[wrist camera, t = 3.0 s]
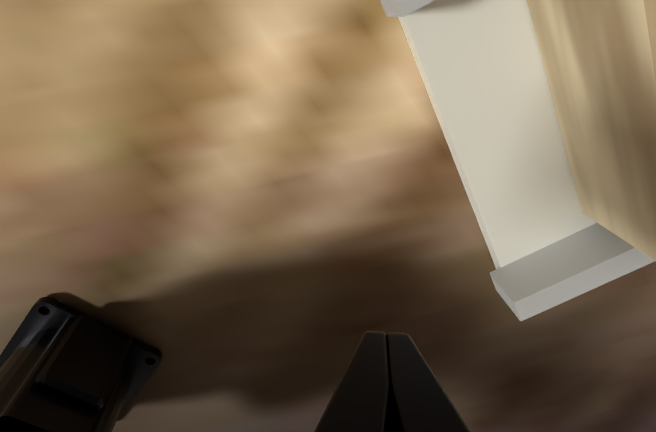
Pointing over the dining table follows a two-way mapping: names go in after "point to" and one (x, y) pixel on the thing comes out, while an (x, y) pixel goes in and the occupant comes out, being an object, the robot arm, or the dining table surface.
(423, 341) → the dining table surface
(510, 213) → the box
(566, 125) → the cream flanged block
